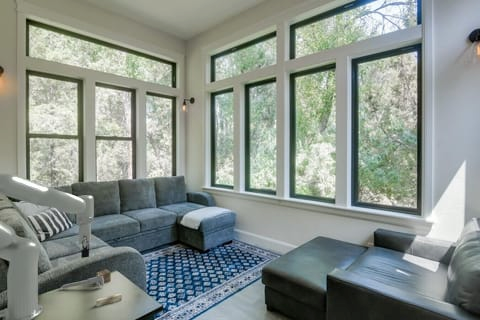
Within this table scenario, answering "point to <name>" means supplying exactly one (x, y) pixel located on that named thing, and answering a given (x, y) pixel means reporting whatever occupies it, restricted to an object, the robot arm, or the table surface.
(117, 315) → the table surface
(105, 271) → the walnut block
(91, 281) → the caliper
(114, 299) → the rail
